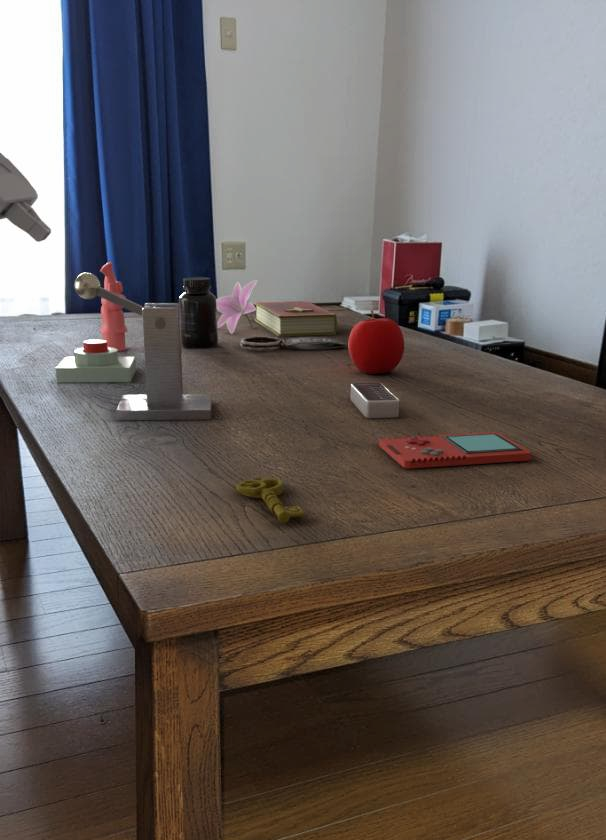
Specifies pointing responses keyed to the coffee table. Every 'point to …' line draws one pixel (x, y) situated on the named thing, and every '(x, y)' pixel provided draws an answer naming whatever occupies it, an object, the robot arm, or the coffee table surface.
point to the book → (295, 318)
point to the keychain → (290, 343)
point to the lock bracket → (163, 372)
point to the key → (269, 496)
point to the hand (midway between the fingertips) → (45, 237)
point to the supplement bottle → (198, 314)
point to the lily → (235, 305)
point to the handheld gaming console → (454, 450)
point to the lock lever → (102, 292)
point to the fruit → (376, 345)
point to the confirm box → (96, 367)
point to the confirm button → (95, 346)
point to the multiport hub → (374, 400)
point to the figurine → (112, 312)
